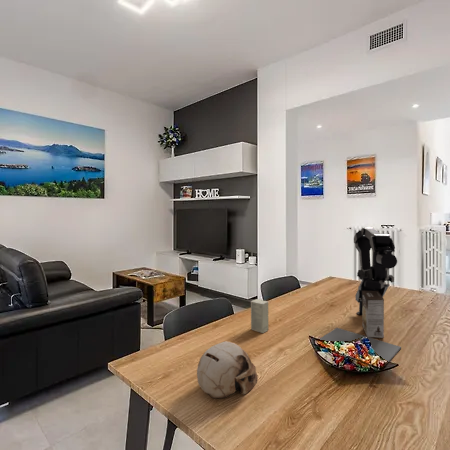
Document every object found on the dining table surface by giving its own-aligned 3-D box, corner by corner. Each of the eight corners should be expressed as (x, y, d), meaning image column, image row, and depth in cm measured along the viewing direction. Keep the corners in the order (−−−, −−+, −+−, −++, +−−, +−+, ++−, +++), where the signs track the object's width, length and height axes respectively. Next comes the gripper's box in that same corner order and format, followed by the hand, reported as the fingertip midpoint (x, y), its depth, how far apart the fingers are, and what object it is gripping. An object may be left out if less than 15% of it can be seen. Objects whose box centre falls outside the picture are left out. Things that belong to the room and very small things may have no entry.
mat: (337, 328, 125) (337, 327, 125) (401, 348, 108) (401, 346, 108) (313, 344, 111) (313, 342, 111) (382, 369, 94) (382, 367, 94)
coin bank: (258, 371, 92) (257, 331, 90) (252, 415, 75) (250, 367, 73) (209, 367, 95) (207, 328, 93) (193, 408, 78) (189, 362, 76)
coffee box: (361, 326, 126) (361, 290, 124) (378, 326, 125) (378, 290, 123) (367, 337, 117) (366, 298, 115) (384, 338, 116) (384, 298, 114)
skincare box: (268, 330, 123) (269, 301, 122) (262, 333, 120) (263, 304, 119) (256, 326, 127) (256, 298, 126) (250, 329, 124) (250, 300, 123)
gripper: (367, 259, 136) (367, 293, 137) (351, 264, 123) (351, 302, 123) (394, 262, 128) (393, 298, 129) (380, 268, 115) (380, 307, 116)
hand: (379, 301), depth 124 cm, fingers closed
